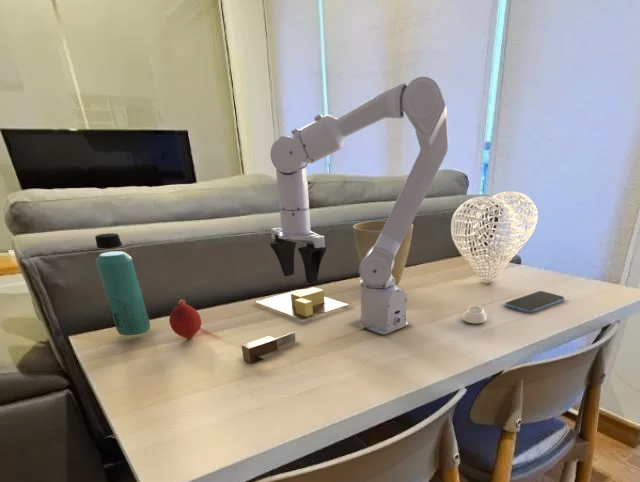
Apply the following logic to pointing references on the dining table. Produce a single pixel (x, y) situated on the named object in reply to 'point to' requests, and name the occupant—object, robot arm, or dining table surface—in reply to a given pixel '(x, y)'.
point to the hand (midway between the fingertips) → (300, 278)
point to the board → (285, 306)
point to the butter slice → (303, 307)
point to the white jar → (475, 315)
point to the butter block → (309, 296)
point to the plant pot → (368, 237)
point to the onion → (185, 320)
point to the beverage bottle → (121, 287)
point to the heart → (477, 216)
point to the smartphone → (534, 301)
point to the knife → (264, 347)
